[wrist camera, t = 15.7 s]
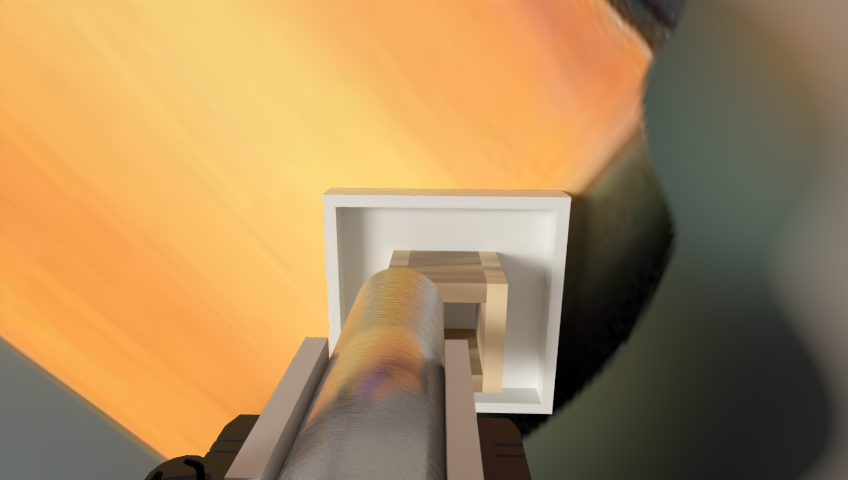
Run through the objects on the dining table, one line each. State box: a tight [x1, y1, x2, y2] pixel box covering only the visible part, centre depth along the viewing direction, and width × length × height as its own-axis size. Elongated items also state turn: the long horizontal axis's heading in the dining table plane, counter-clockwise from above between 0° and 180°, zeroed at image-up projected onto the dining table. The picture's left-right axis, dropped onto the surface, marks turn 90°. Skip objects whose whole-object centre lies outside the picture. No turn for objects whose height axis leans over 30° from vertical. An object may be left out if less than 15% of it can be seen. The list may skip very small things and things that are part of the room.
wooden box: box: [388, 250, 508, 393], centre depth 41 cm, size 9×9×8 cm
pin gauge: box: [277, 268, 446, 480], centre depth 15 cm, size 5×5×15 cm
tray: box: [323, 188, 571, 414], centre depth 44 cm, size 20×20×3 cm
